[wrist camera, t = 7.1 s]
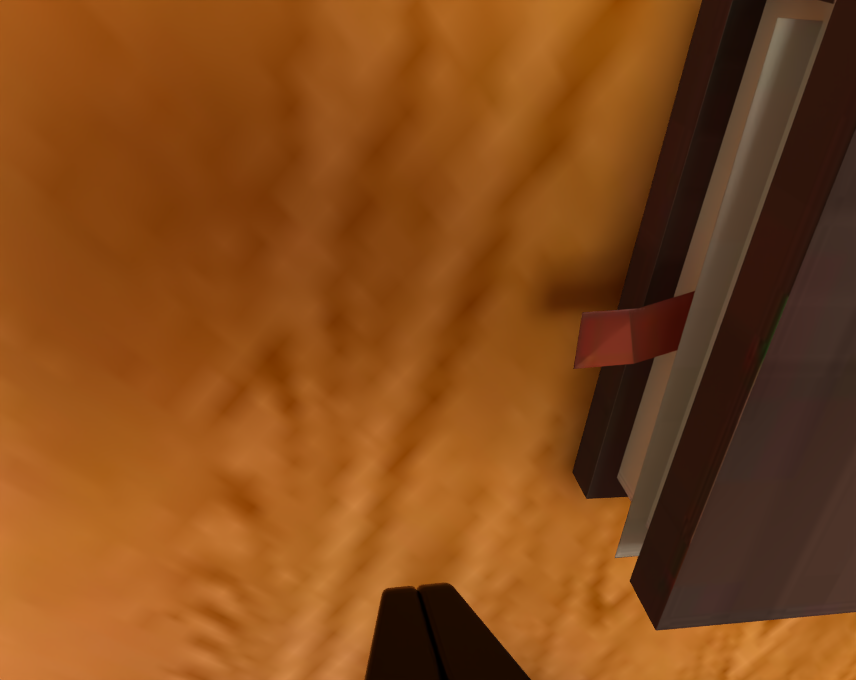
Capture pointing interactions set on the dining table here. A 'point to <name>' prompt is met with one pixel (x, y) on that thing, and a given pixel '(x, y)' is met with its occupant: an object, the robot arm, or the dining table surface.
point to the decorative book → (739, 331)
